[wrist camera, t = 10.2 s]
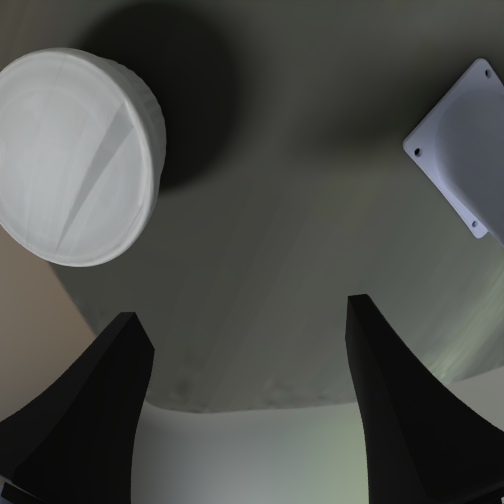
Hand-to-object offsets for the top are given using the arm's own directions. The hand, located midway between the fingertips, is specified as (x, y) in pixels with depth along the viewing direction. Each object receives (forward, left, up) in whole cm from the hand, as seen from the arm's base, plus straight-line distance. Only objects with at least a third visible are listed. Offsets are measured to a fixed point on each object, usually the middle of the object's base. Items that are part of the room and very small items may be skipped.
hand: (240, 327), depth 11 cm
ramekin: (+10, +2, -10) cm, 14 cm away
